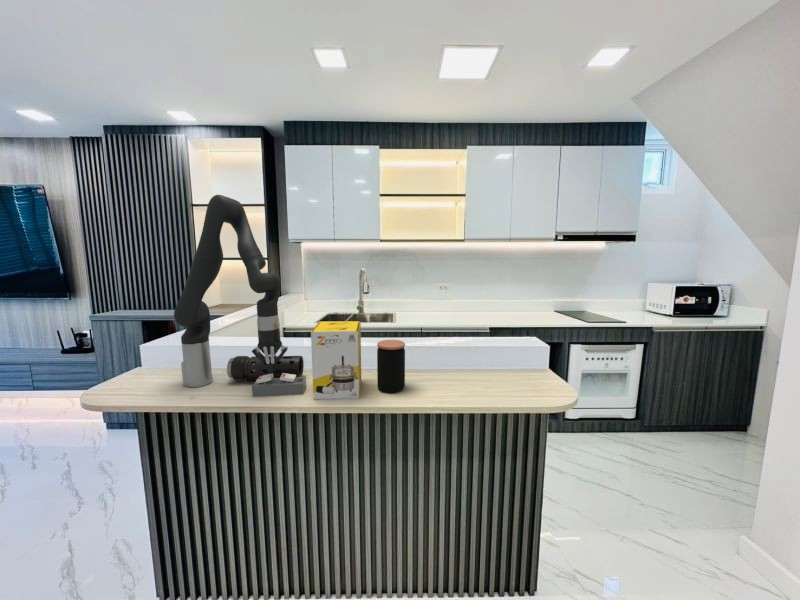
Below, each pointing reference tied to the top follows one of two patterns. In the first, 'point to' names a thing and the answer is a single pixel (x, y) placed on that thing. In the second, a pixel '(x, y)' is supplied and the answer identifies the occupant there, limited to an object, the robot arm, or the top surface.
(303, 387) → the switch strip
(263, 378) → the rocker
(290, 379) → the rocker
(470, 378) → the top surface
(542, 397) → the top surface
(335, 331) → the packaging box
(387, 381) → the coffee jar
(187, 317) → the robot arm
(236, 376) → the muzzle brake
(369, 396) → the top surface
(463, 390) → the top surface
